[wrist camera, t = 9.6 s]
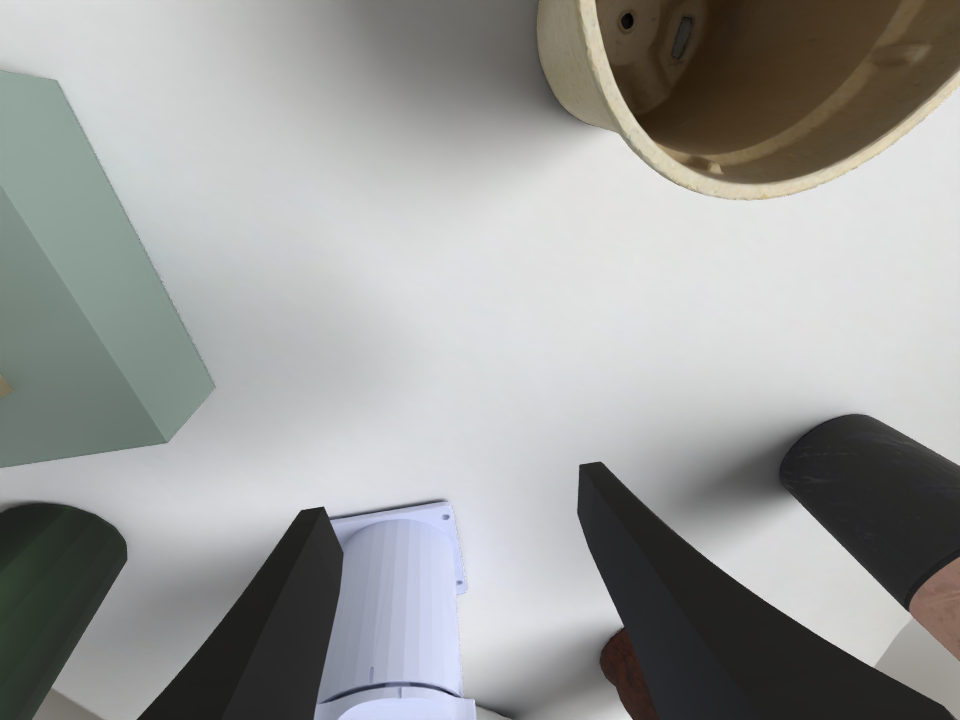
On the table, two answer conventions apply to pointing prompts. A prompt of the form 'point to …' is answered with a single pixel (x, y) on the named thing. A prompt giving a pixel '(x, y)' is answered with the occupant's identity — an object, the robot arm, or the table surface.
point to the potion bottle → (48, 595)
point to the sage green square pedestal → (78, 299)
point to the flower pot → (752, 83)
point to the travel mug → (887, 512)
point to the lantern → (627, 677)
